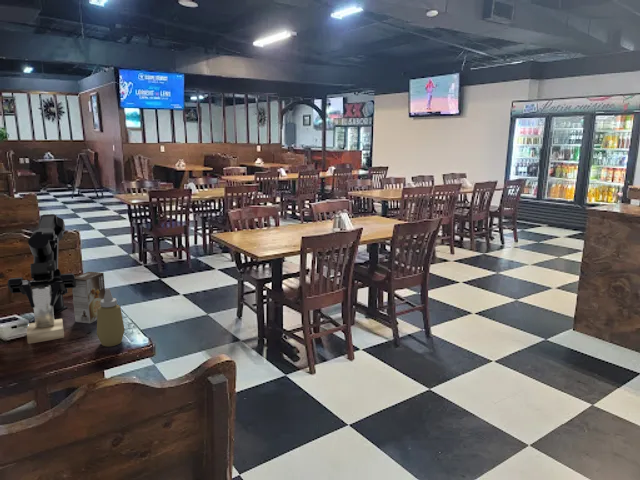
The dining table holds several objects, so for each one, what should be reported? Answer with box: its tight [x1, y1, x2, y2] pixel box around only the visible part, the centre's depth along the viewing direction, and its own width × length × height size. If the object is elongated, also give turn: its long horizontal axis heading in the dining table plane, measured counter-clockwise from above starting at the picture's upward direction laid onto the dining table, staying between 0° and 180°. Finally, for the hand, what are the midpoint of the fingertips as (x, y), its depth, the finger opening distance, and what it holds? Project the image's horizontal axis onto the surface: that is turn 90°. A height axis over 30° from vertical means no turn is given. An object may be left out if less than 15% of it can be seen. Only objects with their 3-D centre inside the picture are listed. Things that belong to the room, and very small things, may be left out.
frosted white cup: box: [31, 285, 55, 328], centre depth 149 cm, size 5×5×12 cm
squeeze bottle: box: [96, 287, 125, 347], centre depth 144 cm, size 8×8×18 cm
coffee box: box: [71, 271, 106, 324], centre depth 163 cm, size 9×6×16 cm
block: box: [26, 318, 65, 344], centre depth 150 cm, size 10×10×3 cm
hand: (42, 306), depth 147 cm, fingers closed on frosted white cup, 5 cm apart
